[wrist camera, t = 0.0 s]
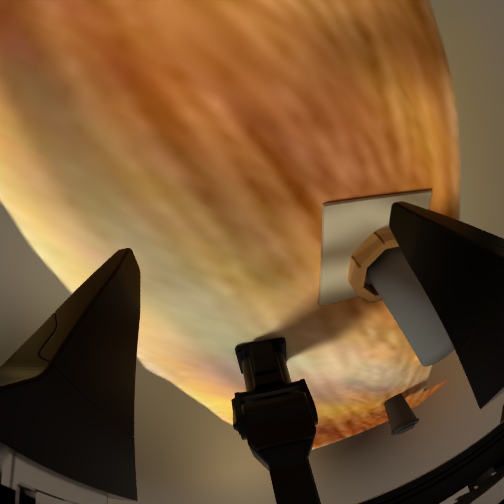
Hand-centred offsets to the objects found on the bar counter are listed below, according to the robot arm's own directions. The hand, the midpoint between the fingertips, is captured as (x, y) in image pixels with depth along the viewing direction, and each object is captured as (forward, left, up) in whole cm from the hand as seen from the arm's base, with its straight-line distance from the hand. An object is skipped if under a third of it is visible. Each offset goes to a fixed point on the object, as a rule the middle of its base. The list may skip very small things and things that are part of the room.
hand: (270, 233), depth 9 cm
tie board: (-14, -14, -15) cm, 25 cm away
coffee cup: (-66, -32, -15) cm, 75 cm away
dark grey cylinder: (-15, -15, -14) cm, 26 cm away
